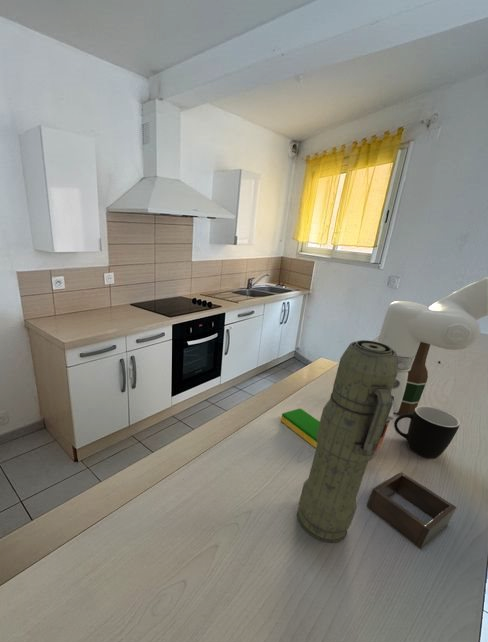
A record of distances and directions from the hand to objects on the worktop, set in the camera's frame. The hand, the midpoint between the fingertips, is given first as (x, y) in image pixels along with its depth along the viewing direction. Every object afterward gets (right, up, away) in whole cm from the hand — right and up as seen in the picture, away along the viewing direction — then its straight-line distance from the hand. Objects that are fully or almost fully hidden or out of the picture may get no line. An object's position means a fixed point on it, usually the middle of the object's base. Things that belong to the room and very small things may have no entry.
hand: (370, 425), depth 77 cm
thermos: (-19, -14, -17) cm, 29 cm away
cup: (0, -5, +2) cm, 5 cm away
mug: (+14, -7, +4) cm, 16 cm away
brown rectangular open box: (-2, -14, -15) cm, 21 cm away
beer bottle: (+21, 0, +21) cm, 29 cm away
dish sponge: (-12, -4, +8) cm, 15 cm away
